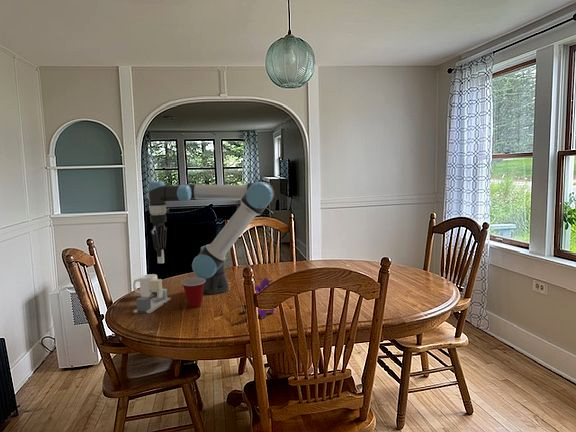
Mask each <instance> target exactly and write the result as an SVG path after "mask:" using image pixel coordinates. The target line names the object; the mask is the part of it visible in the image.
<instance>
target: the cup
mask: <svg viewBox="0 0 576 432" xmlns="http://www.w3.org/2000/svg"><path fill="white" fill-rule="evenodd" d="M152 279H158V275H157V274H155V273H152V274H151V273H150V274H148V273H147V274H144V275H140V276H139V278H136V279H134V281H133V283H132V288H133V289H132V290H133V291H134V292H135V293H136V294H140V297H146V296H150V284H149V281H150V280H152ZM137 282H138V283H139V289H140V290H138V289H136V284H137Z"/></svg>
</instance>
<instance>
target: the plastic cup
mask: <svg viewBox="0 0 576 432" xmlns="http://www.w3.org/2000/svg"><path fill="white" fill-rule="evenodd" d="M205 281H206V280H205V279H204V278H201V277H198V276H197V277H188V278H185V279H182V280H181V282H180V283H181V285H182V288H183V290H184V293H185V298H186V301H187V306H188V307H189V308H191V309H192V308H193V309H195V308H199V307H202V303H203V297H204V293H203V289H204V283H205Z"/></svg>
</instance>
